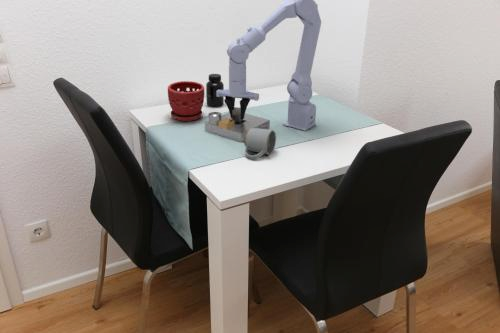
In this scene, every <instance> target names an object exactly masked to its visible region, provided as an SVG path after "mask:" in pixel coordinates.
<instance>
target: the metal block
mask: <svg viewBox="0 0 500 333" xmlns="http://www.w3.org/2000/svg"><path fill="white" fill-rule="evenodd" d="M240 115H241V108H240V107H239V106H236V107H235V106H234V109H233V110H232V120H235V124H238V125H239V124H242V123H243V120H241V117H240Z"/></svg>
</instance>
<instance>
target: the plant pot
mask: <svg viewBox="0 0 500 333" xmlns="http://www.w3.org/2000/svg"><path fill="white" fill-rule="evenodd" d="M188 89H189V90H188ZM167 97H168V104H169V106H170V108H171V111H170V115H171V117H172V118H173V119H175V120H178V121H180V122H181V121H182V122H192V121H195V120H198V119H199V118H201V117H202V115H203V110H202V109H203V106H204V102H205V86H204V84H202V83H200V82H196V81H189V80H186V81H185V80H184V81H175V82H172V83H170V84H169V85H168V86H167Z"/></svg>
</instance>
